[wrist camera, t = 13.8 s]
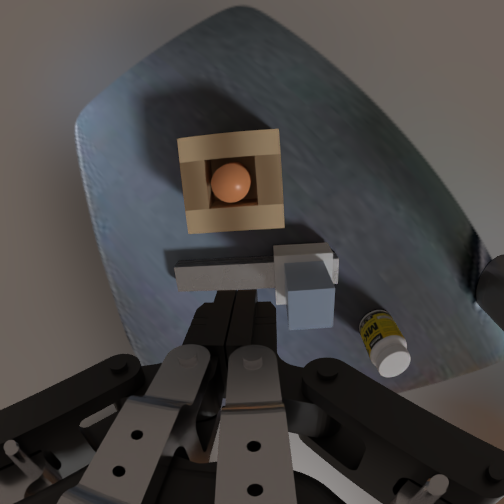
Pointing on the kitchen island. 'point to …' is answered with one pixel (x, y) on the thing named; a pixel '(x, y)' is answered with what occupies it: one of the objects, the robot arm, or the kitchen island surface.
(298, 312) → the carriage
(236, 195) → the brown egg
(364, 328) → the supplement bottle
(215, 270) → the rail
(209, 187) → the open wooden box
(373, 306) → the kitchen island surface
